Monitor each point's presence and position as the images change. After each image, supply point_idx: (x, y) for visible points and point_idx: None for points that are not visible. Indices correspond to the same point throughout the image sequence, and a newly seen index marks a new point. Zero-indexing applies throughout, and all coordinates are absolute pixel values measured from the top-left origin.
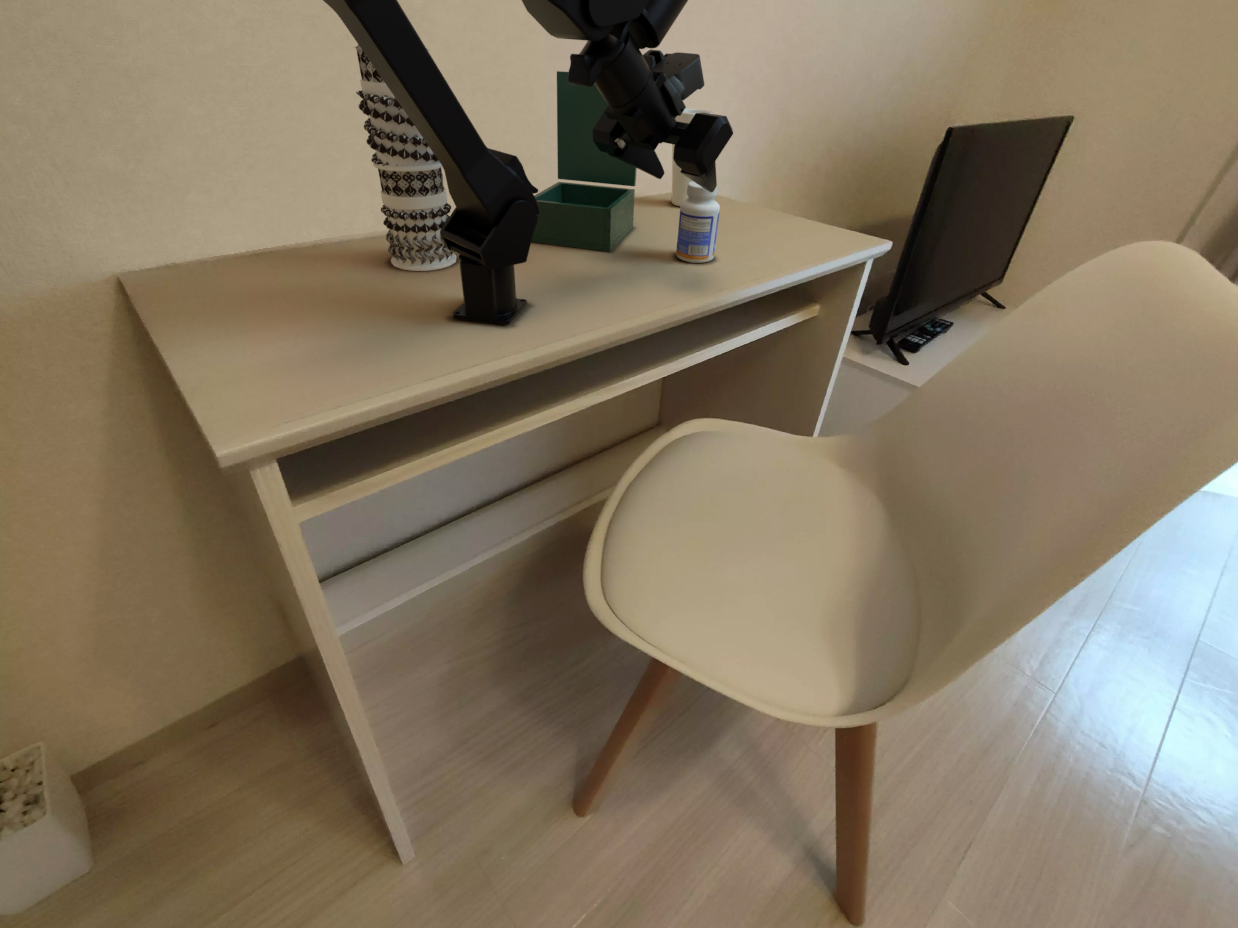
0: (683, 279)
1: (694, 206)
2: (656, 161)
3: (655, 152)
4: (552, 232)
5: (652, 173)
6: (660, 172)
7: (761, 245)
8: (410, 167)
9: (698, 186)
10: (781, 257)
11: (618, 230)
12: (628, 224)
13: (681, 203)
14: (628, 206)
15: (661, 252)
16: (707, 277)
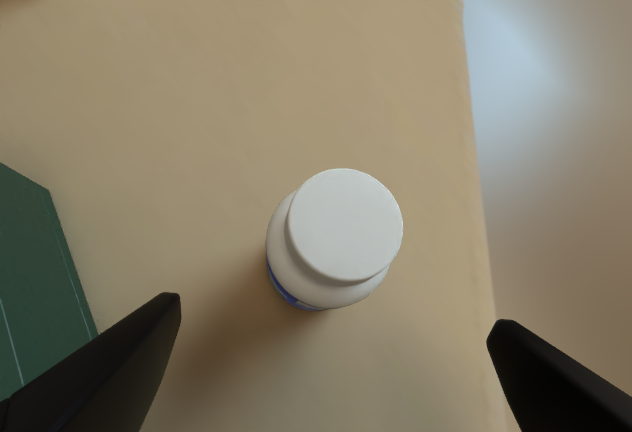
0: (392, 414)
1: (353, 296)
2: (132, 372)
3: (90, 392)
4: None
5: (154, 395)
6: (170, 326)
7: (345, 100)
8: None
9: (360, 264)
10: (413, 135)
11: (75, 329)
12: (48, 228)
13: (281, 279)
14: (9, 220)
15: (231, 294)
16: (413, 353)
